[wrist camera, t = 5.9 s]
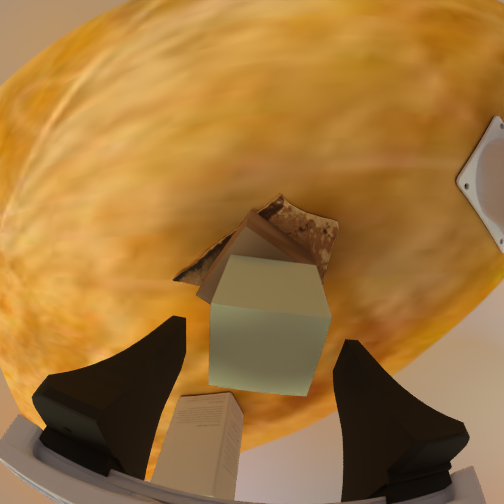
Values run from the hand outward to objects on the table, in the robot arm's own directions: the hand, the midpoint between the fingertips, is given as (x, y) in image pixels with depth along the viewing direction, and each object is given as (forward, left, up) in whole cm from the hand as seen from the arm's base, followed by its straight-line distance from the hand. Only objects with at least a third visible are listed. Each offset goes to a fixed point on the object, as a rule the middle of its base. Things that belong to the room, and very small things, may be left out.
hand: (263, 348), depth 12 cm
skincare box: (-5, +16, -9) cm, 19 cm away
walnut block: (+1, 0, -8) cm, 8 cm away
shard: (0, 0, -10) cm, 10 cm away
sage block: (0, 0, -4) cm, 4 cm away
